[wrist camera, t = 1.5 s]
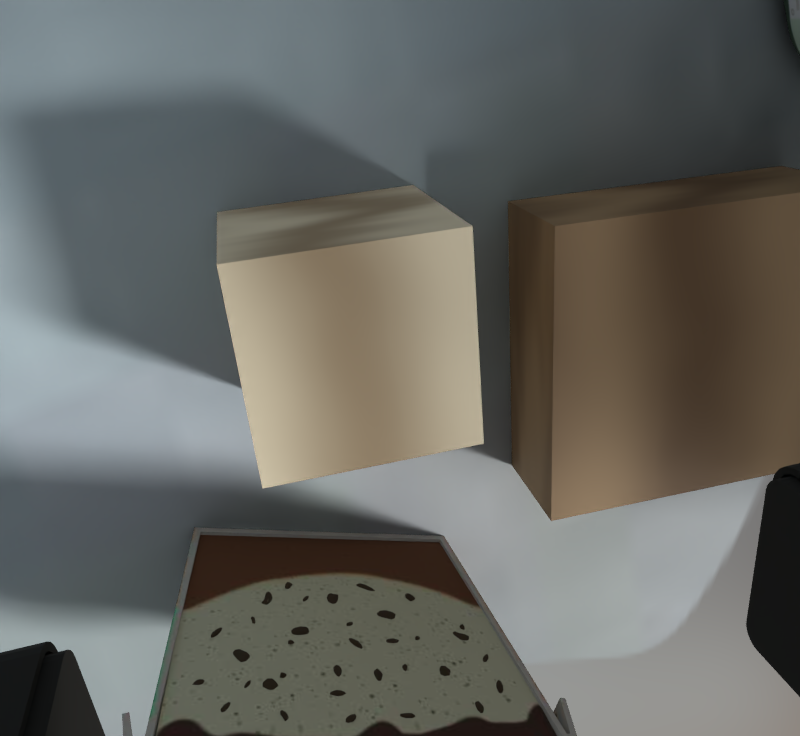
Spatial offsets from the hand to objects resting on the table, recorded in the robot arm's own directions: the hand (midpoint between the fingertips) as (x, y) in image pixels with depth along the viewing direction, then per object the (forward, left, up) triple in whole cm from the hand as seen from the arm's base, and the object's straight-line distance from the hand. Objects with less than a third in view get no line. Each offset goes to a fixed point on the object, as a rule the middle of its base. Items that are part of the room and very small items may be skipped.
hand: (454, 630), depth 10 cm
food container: (+2, +12, -15) cm, 20 cm away
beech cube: (0, 0, -15) cm, 15 cm away
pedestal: (-11, +3, -16) cm, 20 cm away
